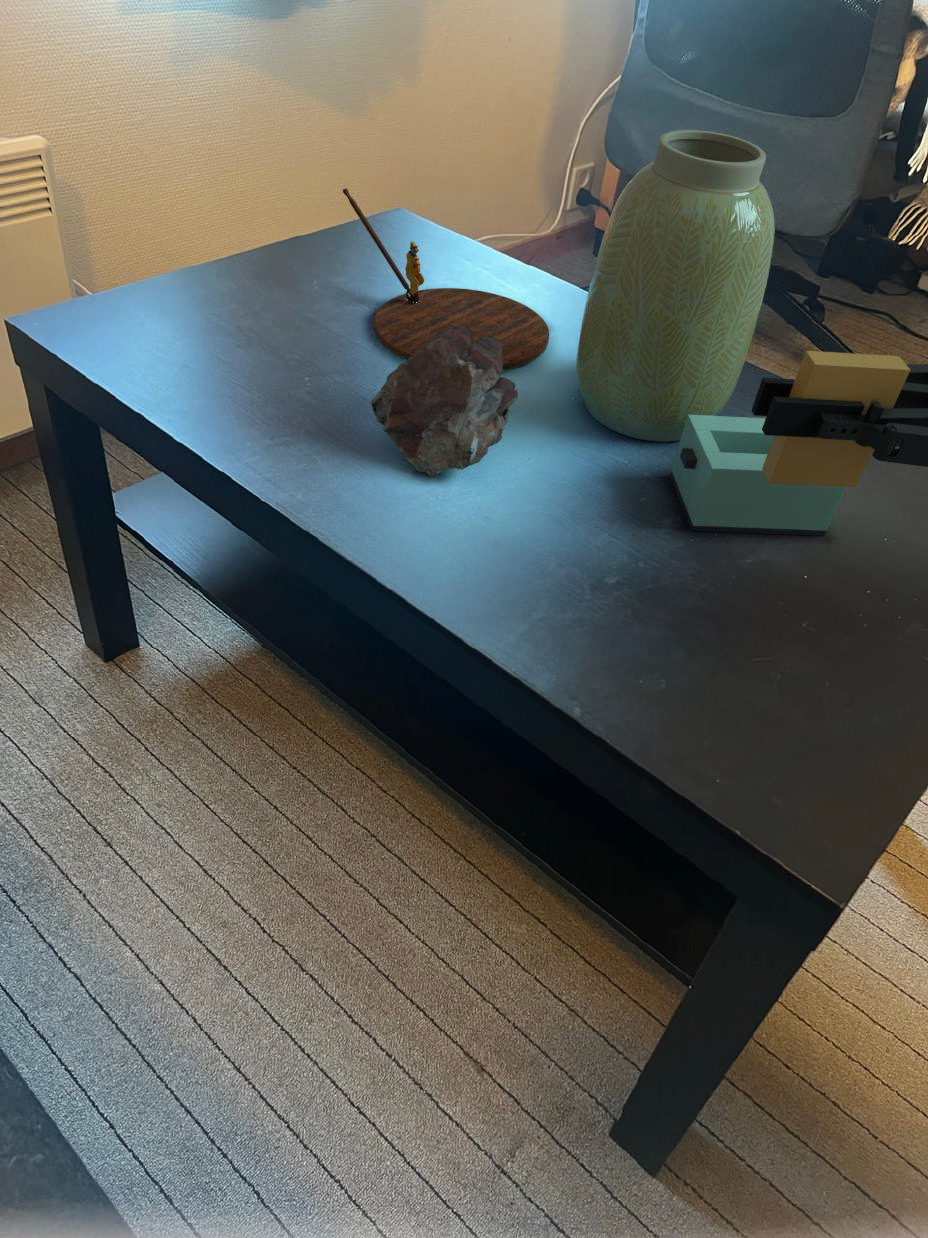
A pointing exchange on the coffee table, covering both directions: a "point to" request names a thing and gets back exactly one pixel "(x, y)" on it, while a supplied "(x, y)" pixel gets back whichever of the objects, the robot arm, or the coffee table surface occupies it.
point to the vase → (677, 287)
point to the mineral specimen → (447, 401)
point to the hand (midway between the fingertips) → (764, 406)
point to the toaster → (742, 482)
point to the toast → (834, 381)
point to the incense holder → (453, 314)
